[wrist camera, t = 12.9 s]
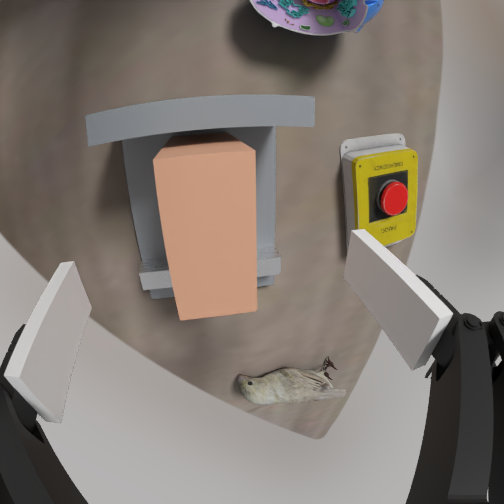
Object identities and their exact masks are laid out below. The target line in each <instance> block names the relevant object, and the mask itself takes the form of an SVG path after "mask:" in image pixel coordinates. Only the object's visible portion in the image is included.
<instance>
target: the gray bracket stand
mask: <svg viewBox="0 0 504 504" xmlns="http://www.w3.org/2000/svg"><path fill="white" fill-rule="evenodd" d="M85 121H86V131H87V141H88V147H89V146H94V145H99V144H103V143H108V142H114V141H119V140H122V146H123V155H124V163H125V171H126V178H127V184H128V191H129V197H130V203H131V209H132V215H133V220H134V225H135V230H136V235H137V240H138V245H139V249H140V254H141V258H142V261H146V260H155V259H164V258H167V255H166V249H165V244H164V238H163V232H162V225H161V219H160V212H159V205H158V198H157V190H156V182H155V174H154V165H153V159H154V158H155V157H156V155H157V154H158V153H159V151H160V150H161V149H162V148H163V146H164V145H165V144H166V143H167V141H168V140H169V139H170V138H171V137H177V136H187V135H197V134H209V133H223V132H227V133H229V134H230V135H232V136H234V137H235V138H237V139H238V140H240V141H241V142H243V143H245V144H246V145H248V146H249V147H251V148H252V149H254V150H255V155H256V235H257V248H261V247H270V246H275V196H276V126H301V127H314V124H315V97H310V96H294V95H219V96H203V97H191V98H181V99H172V100H163V101H156V102H149V103H143V104H137V105H131V106H125V107H120V108H115V109H110V110H106V111H101V112H97V113H93V114H88V115H85ZM267 285H274V275H269V276H262V277H257V287H260V286H267ZM149 291H150V295H151V299H159V298H169V297H175V295H174V291H173V287H169V288H160V289H150V290H149Z"/></svg>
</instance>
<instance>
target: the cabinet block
mask: <svg viewBox="0 0 504 504" xmlns="http://www.w3.org/2000/svg"><path fill="white" fill-rule="evenodd" d="M153 165H154V174H155V182H156V190H157V198H158V205H159V212H160V219H161V225H162V232H163V238H164V244H165V249H166V255H167V260H168V266H169V271H170V276H171V281H172V286H173V291H174V295H175V300H176V305H177V309H178V314H179V318H180V320H189V319H198V318H207V317H215V316H223V315H231V314H238V313H245V312H252V311H257V235H256V155H255V150H254V149H252V148H251V147H249V146H248V145H246V144H245V143H243V142H241V141H240V140H238V139H237V138H235V137H234V136H232V135H230V134H229V133H227V132H223V133H209V134H197V135H187V136H177V137H171V138H170V139H169V140H168V141H167V143H166V144H165V145H164V146H163V148H162V149H161V150H160V151H159V153H158V154H157V155H156V157H155V158H154V159H153Z"/></svg>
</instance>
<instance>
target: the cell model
mask: <svg viewBox="0 0 504 504" xmlns="http://www.w3.org/2000/svg"><path fill="white" fill-rule="evenodd" d="M383 1H384V0H250V2H251V4H252V6H253V7H254V8H255V10H256V11H257V12H258V13H259V14H260V15H262V16H263V17H264V18H265V19H267V20H268V21H270V22H271V23H272V27H282V28H285V29H288V30H291V31H294V32H298V33H302V34H308V35H318V36H325V35H334V34H339V33H343V32H354V33H358V32H359V31H360V29H361V28H362V27H363V26H364V25H365V24H366V23H368V22H369V21H370V20H371V19H373V18H374V17H375V16H376V15H377V14H378V13H379V11H380V10H381V8H382V5H383Z"/></svg>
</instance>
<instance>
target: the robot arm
mask: <svg viewBox="0 0 504 504" xmlns="http://www.w3.org/2000/svg"><path fill="white" fill-rule="evenodd" d="M343 278H344V279H345V280H346V281H347V283H348V284H349V285H350V287H351V288H352V289H353V290H354V292H355V293H356V294H357V296H358V297H359V298H360V300H361V301H362V302H363V304H364V305H365V306H366V308H367V309H368V310H369V312H370V313H371V314H372V316H373V317H374V318H375V320H376V321H377V322H378V324H379V325H380V326H381V328H382V329H383V330H384V332H385V333H386V334H387V336H388V337H389V339H390V340H391V341H392V343H393V344H394V346H395V347H396V349H397V350H398V351H399V353H400V354H401V355H402V357H403V358H404V360H405V361H406V363H407V364H408V365H409V367H410V369H411V370H415V369H417V368H419V367H421V366H423V365H425V364H426V363H427V361H428V359H429V358H430V356H431V354H432V355H433V357H434V358H435V361H434V362H433V364H432V366H431V367H430V369H429V370H428V372H427V373H426V376H425V378H428V376H429V375H430V373H431V372H432V377H431V387H430V397H429V405H428V412H427V418H426V425H425V430H424V436H423V441H422V446H421V450H420V455H419V459H418V463H417V467H416V471H415V475H414V478H413V482H412V485H411V489H410V492H409V495H408V498H407V501H406V504H504V312H500V311H499V312H496V313H495V314H494V316H493V318H492V320H491V321H490V322H482V321H481V320H480V319H479V318H477V317H476V316H474V315H472V314H468V313H464V314H460V313H459V312H458V311H457V310H456V309H455V308H454V307H453V306H452V305H451V304H450V303H449V302H448V301H447V300H446V299H445V298H444V297H443V296H442V295H440V293H439V292H438V291H437V290H436V289H434V287H433V286H432V285H431V284H430V283H429V282H428V281H427V280H425V279H423V278H422V277H420V276H418V275H414V273H412V272H411V271H410V270H409V269H408V268H407V267H406V266H405V265H404V264H403V263H402V262H401V261H400V260H399V259H397V258H396V257H395V256H394V255H393V254H392V253H391V252H390V251H389V250H388V249H386V248H385V247H384V246H383V245H382V244H381V243H380V242H378V241H377V240H376V239H375V238H374V237H373V236H372V235H370V234H369V233H368V232H367V231H366V230H365V229H360V230H351V235H350V242H349V248H348V254H347V259H346V265H345V271H344V276H343ZM91 309H92V307H91V305H90V302H89V300H88V297H87V295H86V292H85V290H84V287H83V284H82V282H81V279H80V276H79V274H78V271H77V268H76V265H75V262H74V261H70V262H63V263H60V265H59V267H58V268H57V270H56V271H55V273H54V275H53V276H52V278H51V280H50V281H49V283H48V285H47V286H46V288H45V290H44V292H43V293H42V295H41V297H40V299H39V301H38V302H37V304H36V306H35V308H34V310H33V312H32V314H31V316H30V318H29V320H28V322H27V324H24V325H22V327H21V328H20V329H19V330H18V331H17V332H16V334H15V336H14V338H13V340H12V342H11V343H12V344H11V345H10V347H9V349H8V352H7V353H6V356H5V358H4V360H3V363H2V365H1V367H0V504H88V503H87V501H86V500H85V499H84V497H83V496H82V494H81V493H80V492H79V490H78V489H77V488H76V486H75V484H74V483H73V482H72V480H71V478H70V477H69V475H68V474H67V472H66V471H65V469H64V467H63V466H62V464H61V463H60V461H59V459H58V457H57V456H56V454H55V452H54V451H53V449H52V447H51V445H50V443H49V441H48V439H47V438H46V436H45V434H44V432H43V430H42V428H41V426H40V424H39V423H38V422H37V421H36V417H37V413H38V414H39V415H40V416H41V417H42V418H43V419H44V420H45V421H48V422H54V423H61V422H62V417H63V412H64V406H65V402H66V397H67V392H68V388H69V384H70V379H71V376H72V372H73V368H74V364H75V360H76V357H77V353H78V350H79V346H80V343H81V340H82V336H83V333H84V330H85V327H86V324H87V321H88V318H89V315H90V312H91ZM499 355H500V356H501V359H502V361H501V362H500V364H499V365H498V366H496V364H495V361H496V359H497V358H498V357H499ZM487 490H489V491H488V496H489V502H487V499H486V498H487Z"/></svg>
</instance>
